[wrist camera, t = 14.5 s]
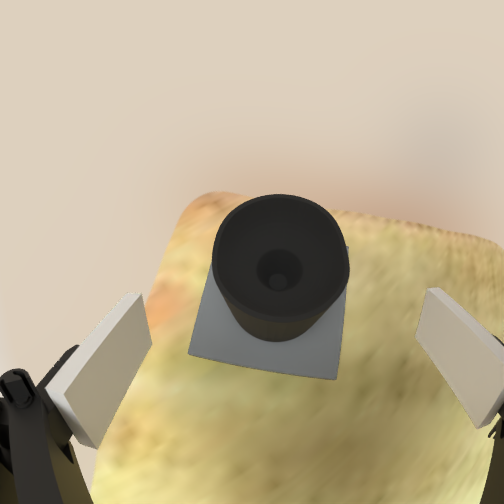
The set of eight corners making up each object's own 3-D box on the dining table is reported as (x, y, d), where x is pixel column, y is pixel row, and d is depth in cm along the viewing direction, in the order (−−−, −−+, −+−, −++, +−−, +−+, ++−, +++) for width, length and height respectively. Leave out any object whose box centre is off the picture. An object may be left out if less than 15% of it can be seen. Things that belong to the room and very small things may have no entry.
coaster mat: (346, 250, 31) (348, 246, 30) (334, 380, 24) (336, 379, 24) (222, 230, 32) (221, 226, 32) (189, 354, 26) (187, 353, 25)
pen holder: (341, 290, 28) (375, 240, 19) (285, 367, 24) (298, 353, 16) (266, 239, 31) (268, 175, 22) (207, 306, 27) (180, 262, 19)
